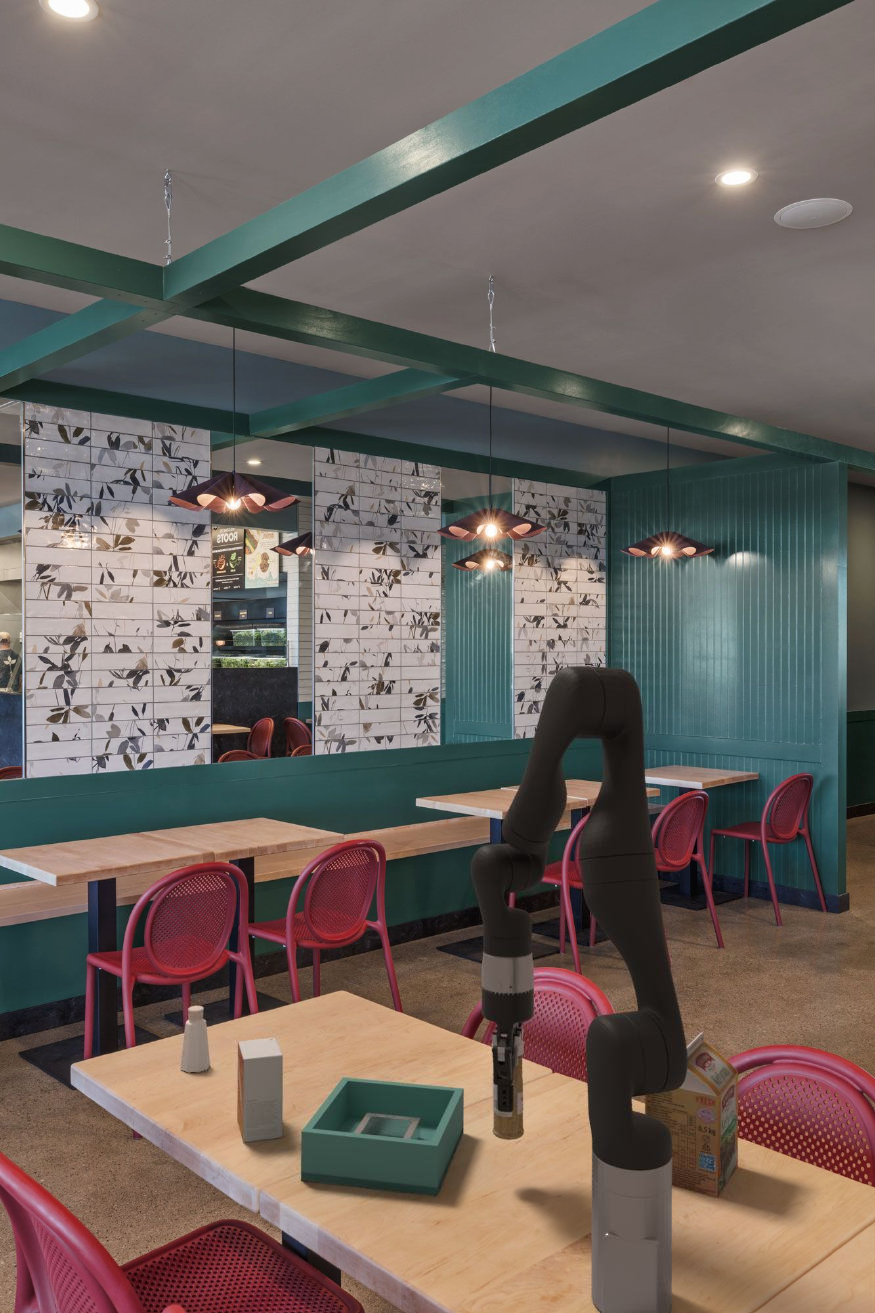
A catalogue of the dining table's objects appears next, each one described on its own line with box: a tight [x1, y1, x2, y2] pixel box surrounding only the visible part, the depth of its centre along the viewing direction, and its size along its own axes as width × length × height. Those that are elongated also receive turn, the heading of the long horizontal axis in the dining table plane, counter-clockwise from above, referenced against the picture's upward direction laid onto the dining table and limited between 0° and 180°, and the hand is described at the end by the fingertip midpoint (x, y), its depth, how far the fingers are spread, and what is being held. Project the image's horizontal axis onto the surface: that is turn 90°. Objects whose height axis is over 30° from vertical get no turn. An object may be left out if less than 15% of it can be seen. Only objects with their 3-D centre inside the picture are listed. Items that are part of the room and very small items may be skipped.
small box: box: [236, 1037, 284, 1143], centre depth 162 cm, size 8×6×13 cm
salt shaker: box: [179, 1005, 211, 1074], centre depth 187 cm, size 5×5×11 cm
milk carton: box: [644, 1031, 739, 1199], centre depth 149 cm, size 10×11×19 cm
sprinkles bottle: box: [491, 1038, 525, 1141], centre depth 146 cm, size 5×5×14 cm
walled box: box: [300, 1076, 465, 1197], centre depth 154 cm, size 20×20×7 cm
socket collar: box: [354, 1113, 421, 1140], centre depth 154 cm, size 9×9×3 cm
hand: (507, 1103), depth 146 cm, fingers closed on sprinkles bottle, 4 cm apart
